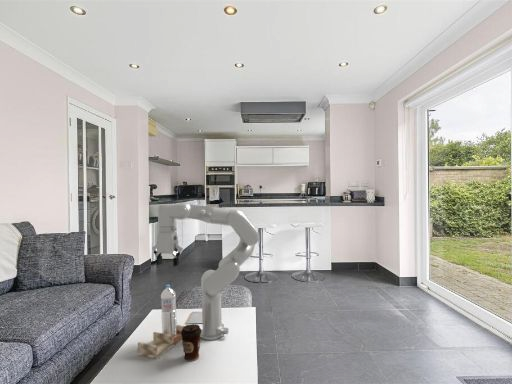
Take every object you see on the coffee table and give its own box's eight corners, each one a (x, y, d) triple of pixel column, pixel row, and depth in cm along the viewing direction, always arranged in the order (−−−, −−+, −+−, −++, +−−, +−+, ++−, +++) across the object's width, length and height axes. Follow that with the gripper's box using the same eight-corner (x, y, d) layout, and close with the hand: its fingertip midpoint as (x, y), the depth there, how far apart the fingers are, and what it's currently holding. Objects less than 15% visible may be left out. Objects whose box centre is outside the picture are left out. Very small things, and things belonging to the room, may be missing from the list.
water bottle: (180, 334, 141) (178, 283, 141) (171, 341, 135) (169, 287, 135) (168, 332, 144) (166, 282, 144) (159, 339, 137) (157, 286, 137)
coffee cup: (191, 365, 118) (190, 333, 118) (177, 360, 122) (176, 329, 122) (205, 355, 125) (204, 325, 125) (191, 350, 129) (191, 321, 129)
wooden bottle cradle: (186, 336, 142) (185, 326, 142) (157, 359, 123) (157, 347, 123) (168, 333, 146) (167, 323, 146) (138, 354, 127) (137, 342, 127)
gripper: (186, 229, 140) (187, 264, 140) (157, 228, 146) (158, 262, 146) (176, 231, 133) (177, 268, 133) (147, 230, 139) (148, 265, 139)
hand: (167, 265), depth 139 cm, fingers open, 9 cm apart
